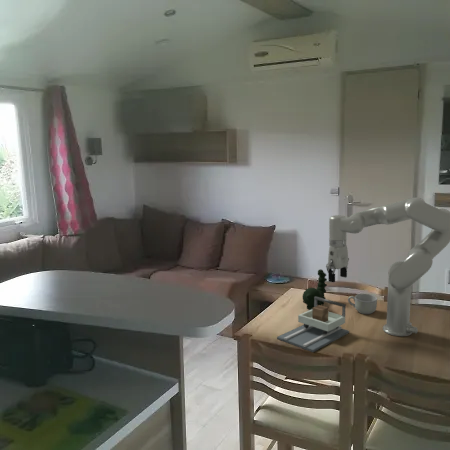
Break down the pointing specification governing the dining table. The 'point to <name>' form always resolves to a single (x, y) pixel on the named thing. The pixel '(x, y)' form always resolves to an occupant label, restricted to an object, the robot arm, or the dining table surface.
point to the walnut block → (320, 313)
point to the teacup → (364, 303)
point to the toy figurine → (315, 291)
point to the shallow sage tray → (332, 322)
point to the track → (311, 337)
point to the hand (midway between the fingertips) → (337, 279)
